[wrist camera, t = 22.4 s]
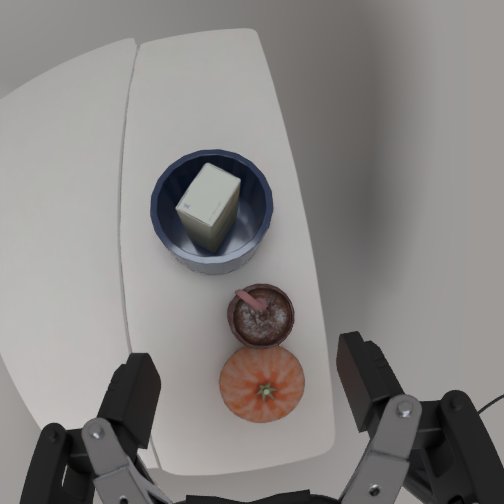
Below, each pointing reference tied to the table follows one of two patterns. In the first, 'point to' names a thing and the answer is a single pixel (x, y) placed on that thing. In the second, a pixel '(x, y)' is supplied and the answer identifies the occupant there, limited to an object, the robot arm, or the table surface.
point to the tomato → (262, 383)
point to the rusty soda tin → (261, 316)
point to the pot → (242, 231)
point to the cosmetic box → (210, 207)
